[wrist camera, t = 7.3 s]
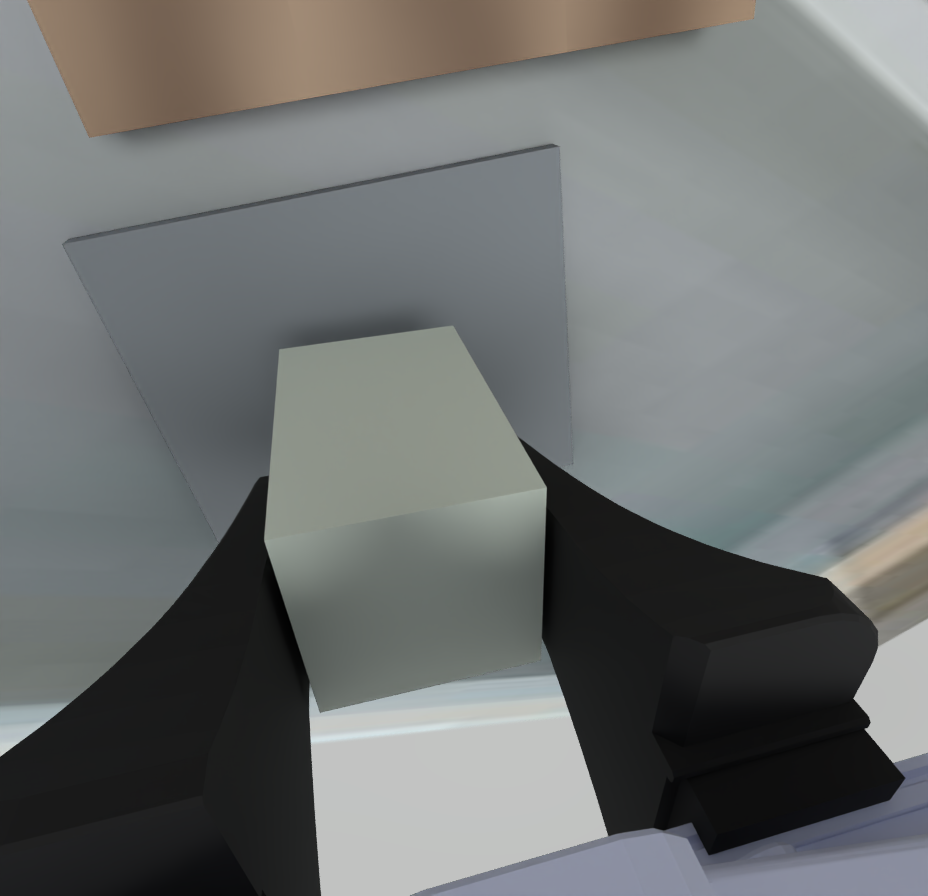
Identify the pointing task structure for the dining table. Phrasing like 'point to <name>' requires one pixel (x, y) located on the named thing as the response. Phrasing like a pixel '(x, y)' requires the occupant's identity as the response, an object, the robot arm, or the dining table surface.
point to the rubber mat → (337, 302)
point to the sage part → (401, 517)
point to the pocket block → (317, 46)
